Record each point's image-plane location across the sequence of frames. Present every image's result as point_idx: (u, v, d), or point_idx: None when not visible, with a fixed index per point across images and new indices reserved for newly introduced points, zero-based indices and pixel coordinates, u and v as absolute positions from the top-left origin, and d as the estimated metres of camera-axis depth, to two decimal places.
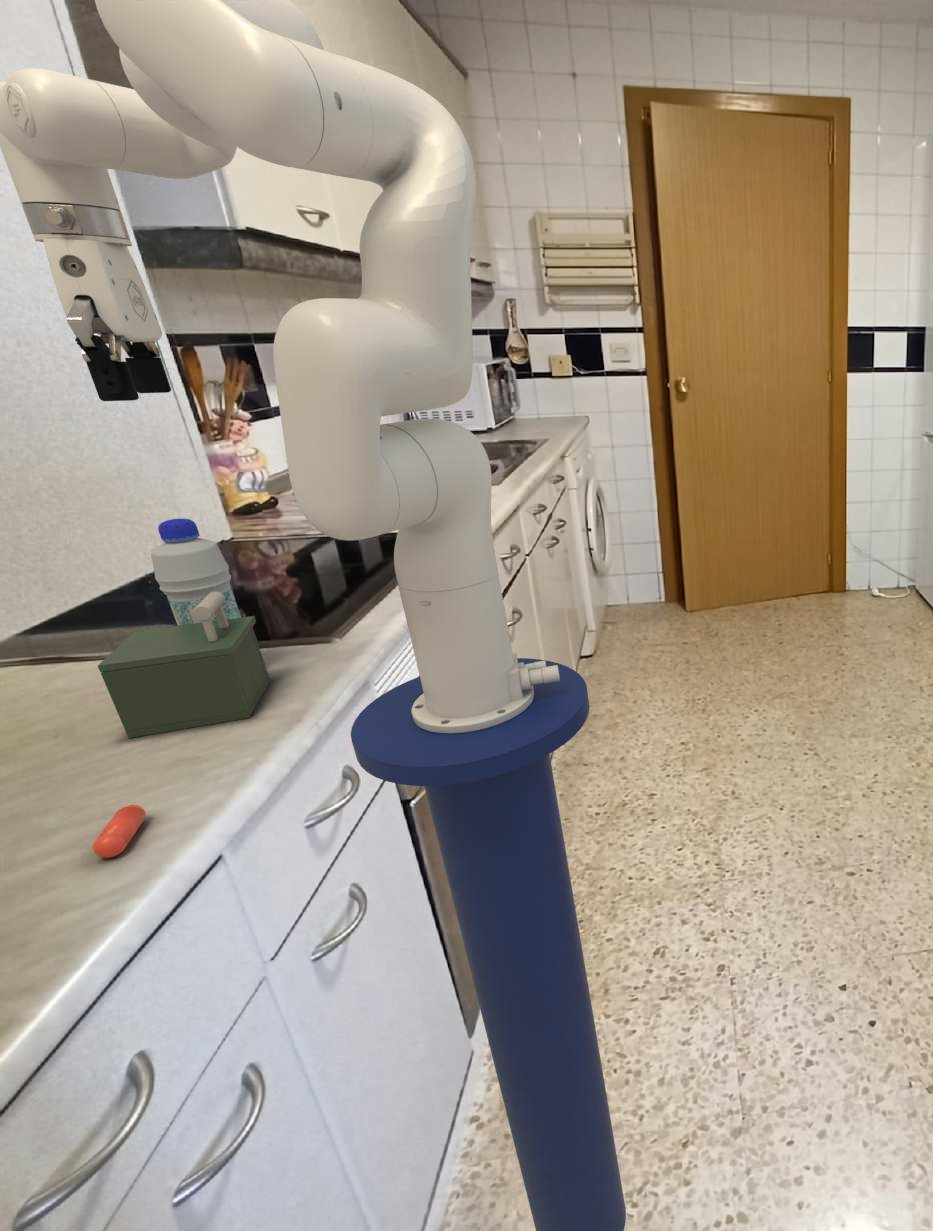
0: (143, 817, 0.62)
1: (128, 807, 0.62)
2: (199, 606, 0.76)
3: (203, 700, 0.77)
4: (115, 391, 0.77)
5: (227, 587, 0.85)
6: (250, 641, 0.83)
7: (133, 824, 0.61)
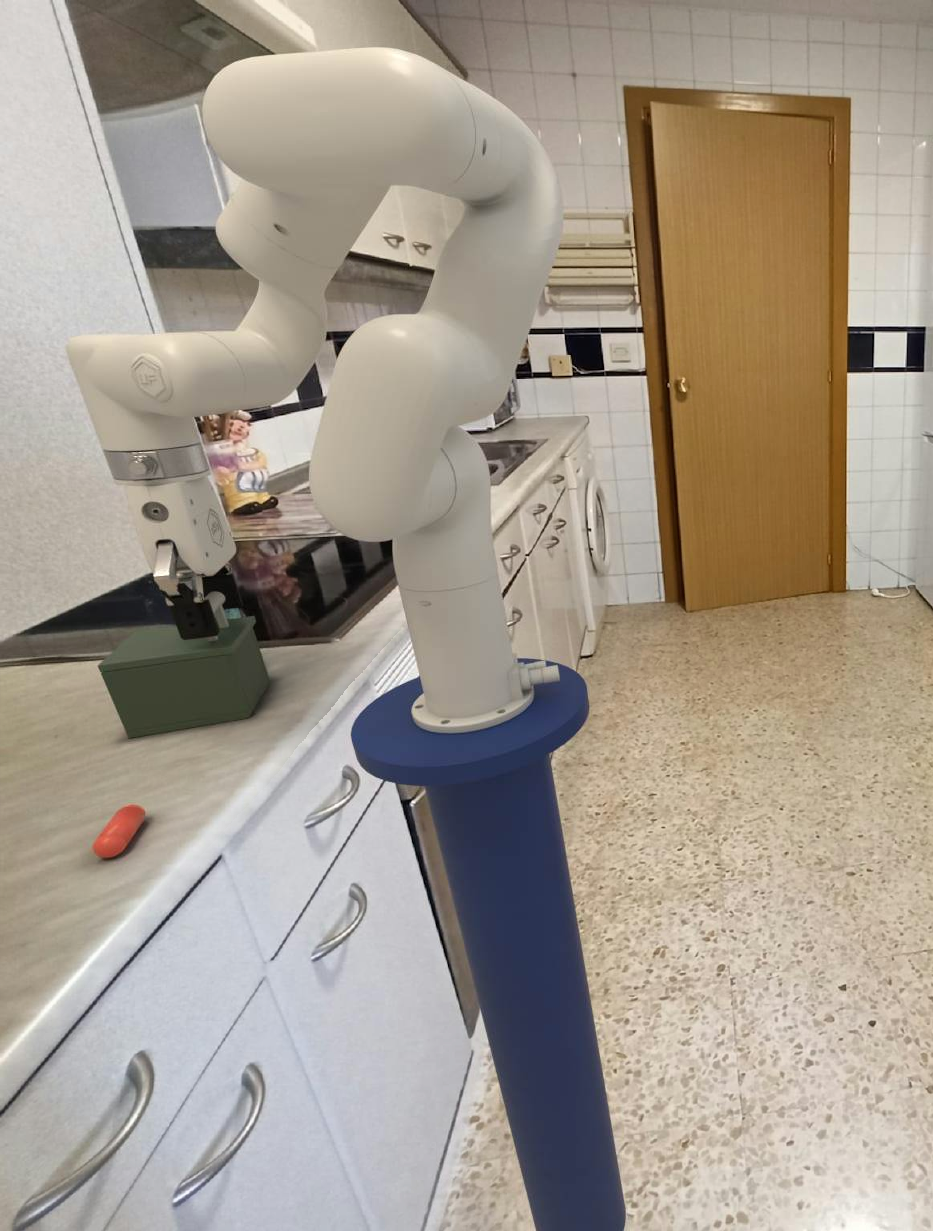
0: (143, 817, 0.62)
1: (128, 807, 0.62)
2: None
3: (203, 700, 0.77)
4: (197, 631, 0.74)
5: None
6: (250, 641, 0.83)
7: (133, 824, 0.61)
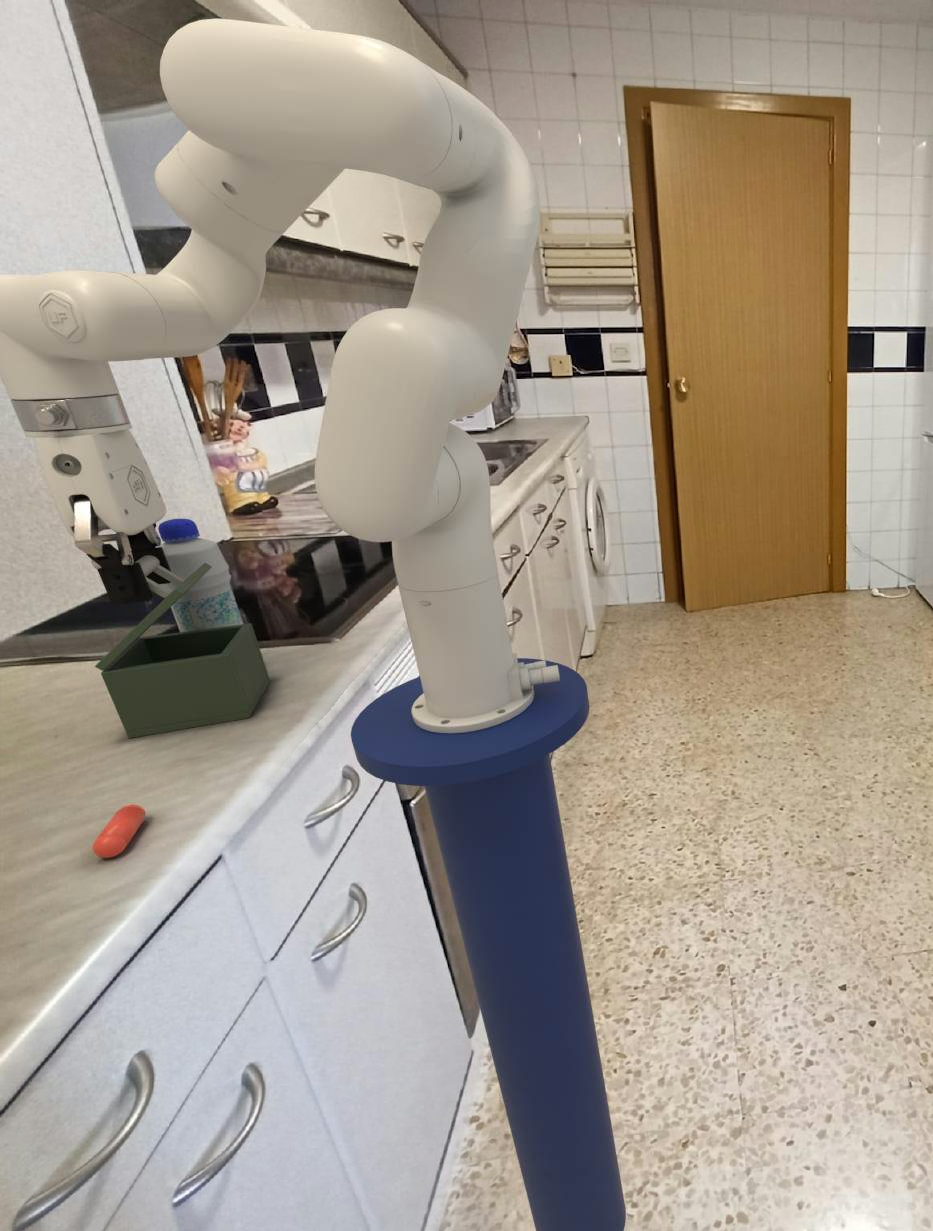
0: (143, 817, 0.62)
1: (128, 807, 0.62)
2: None
3: (203, 700, 0.77)
4: (127, 595, 0.72)
5: (227, 587, 0.85)
6: (250, 641, 0.83)
7: (133, 824, 0.61)
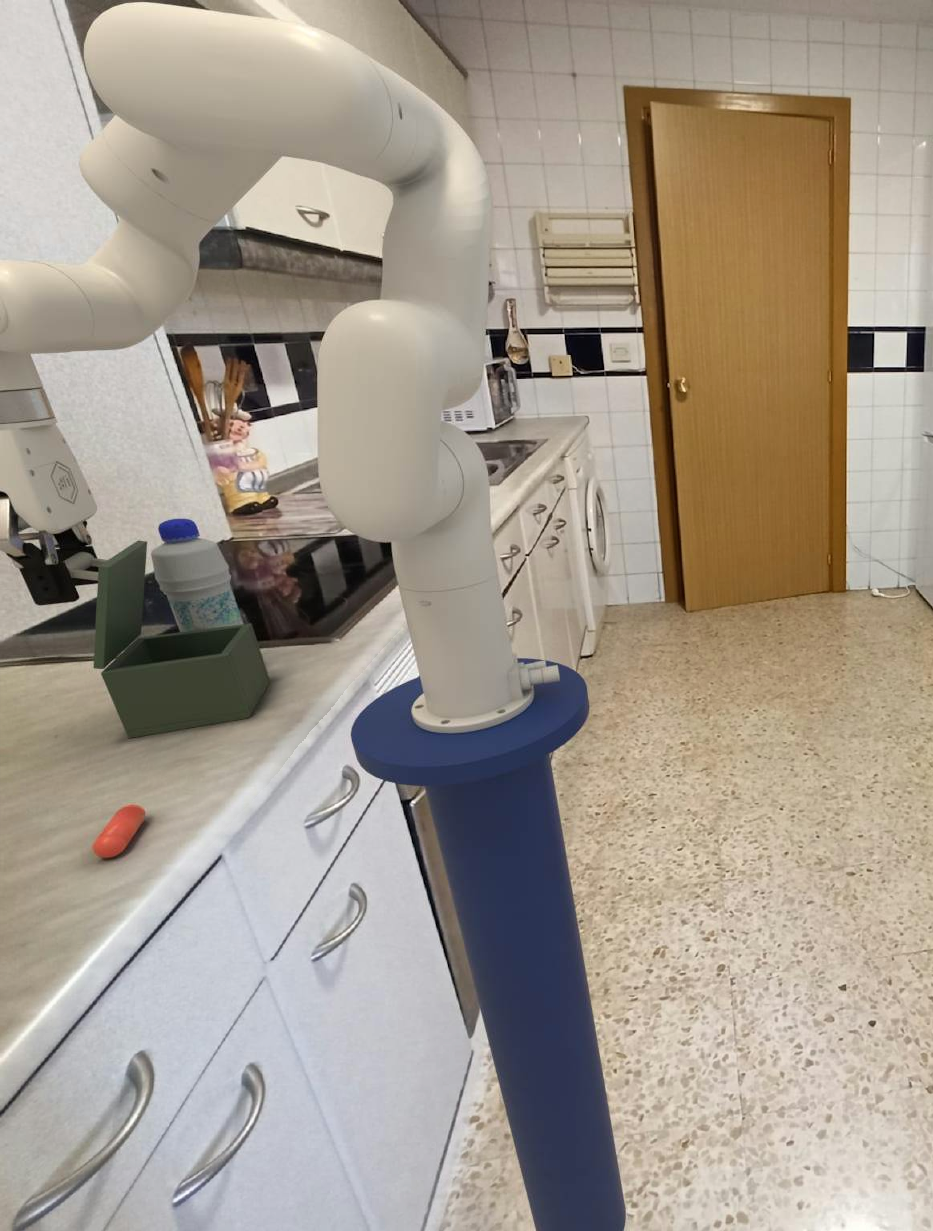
0: (143, 817, 0.62)
1: (128, 807, 0.62)
2: None
3: (203, 700, 0.77)
4: (52, 596, 0.70)
5: (227, 587, 0.85)
6: (250, 641, 0.83)
7: (133, 824, 0.61)
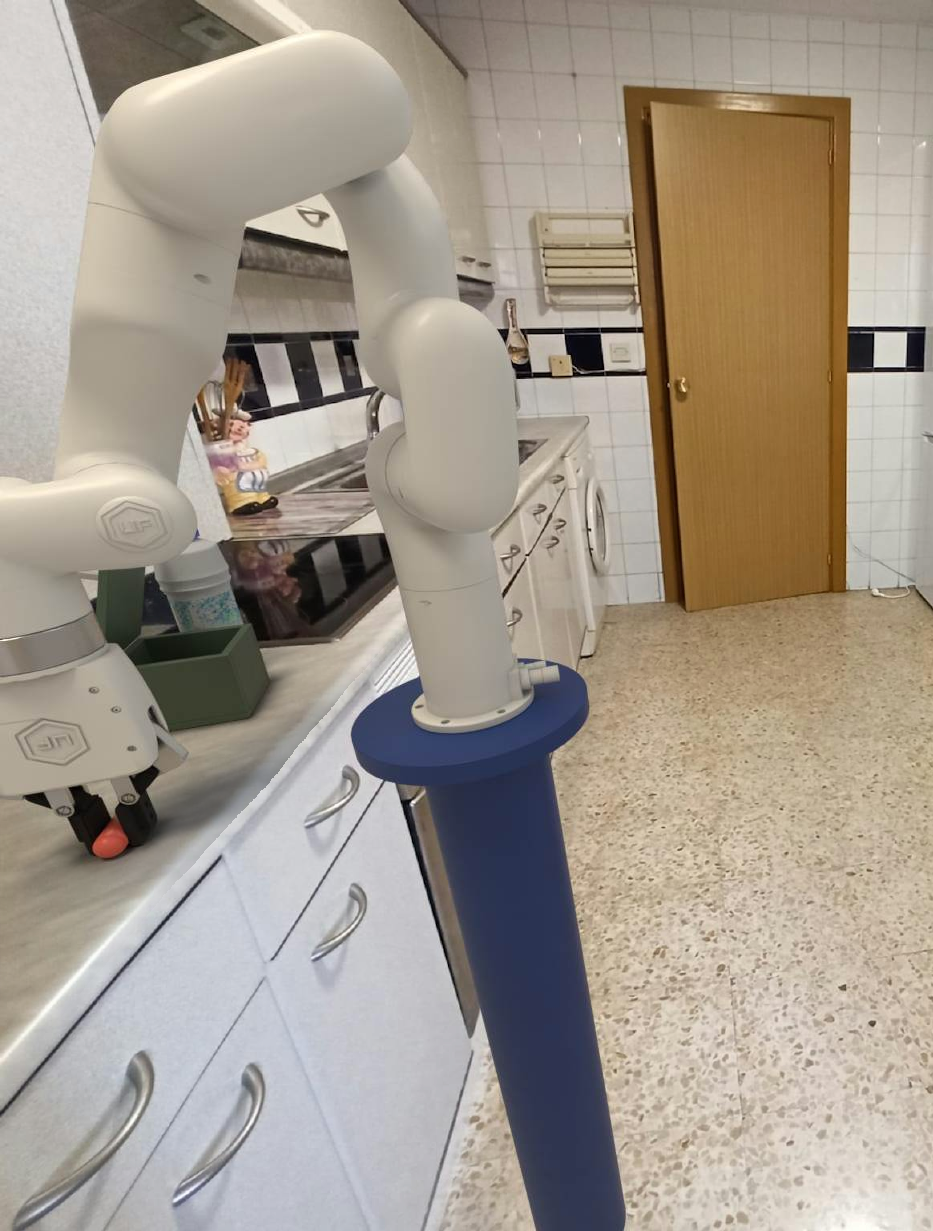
0: None
1: None
2: None
3: (203, 700, 0.77)
4: None
5: (227, 587, 0.85)
6: (250, 641, 0.83)
7: None
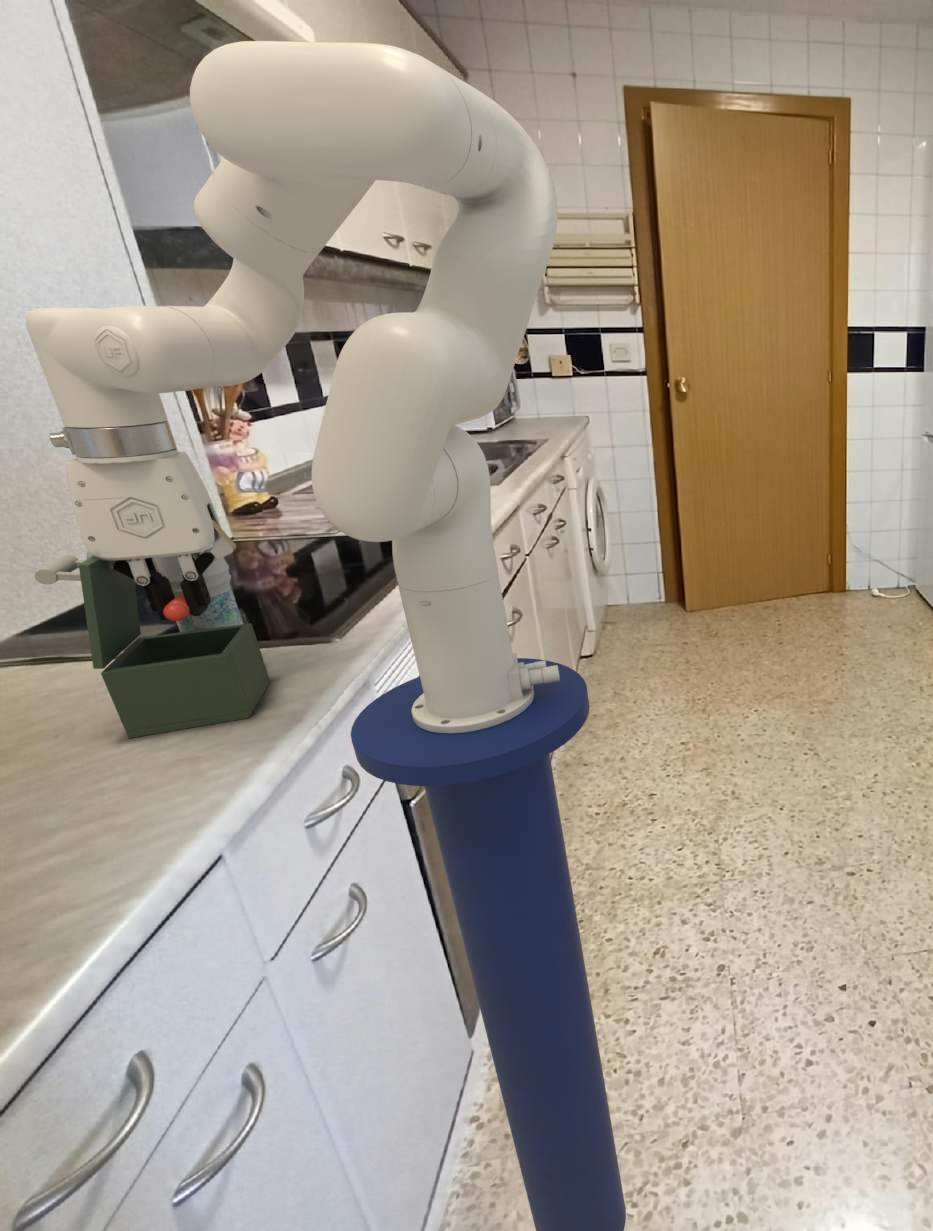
0: None
1: None
2: (35, 576, 0.70)
3: (203, 700, 0.77)
4: None
5: (227, 587, 0.85)
6: (250, 641, 0.83)
7: None
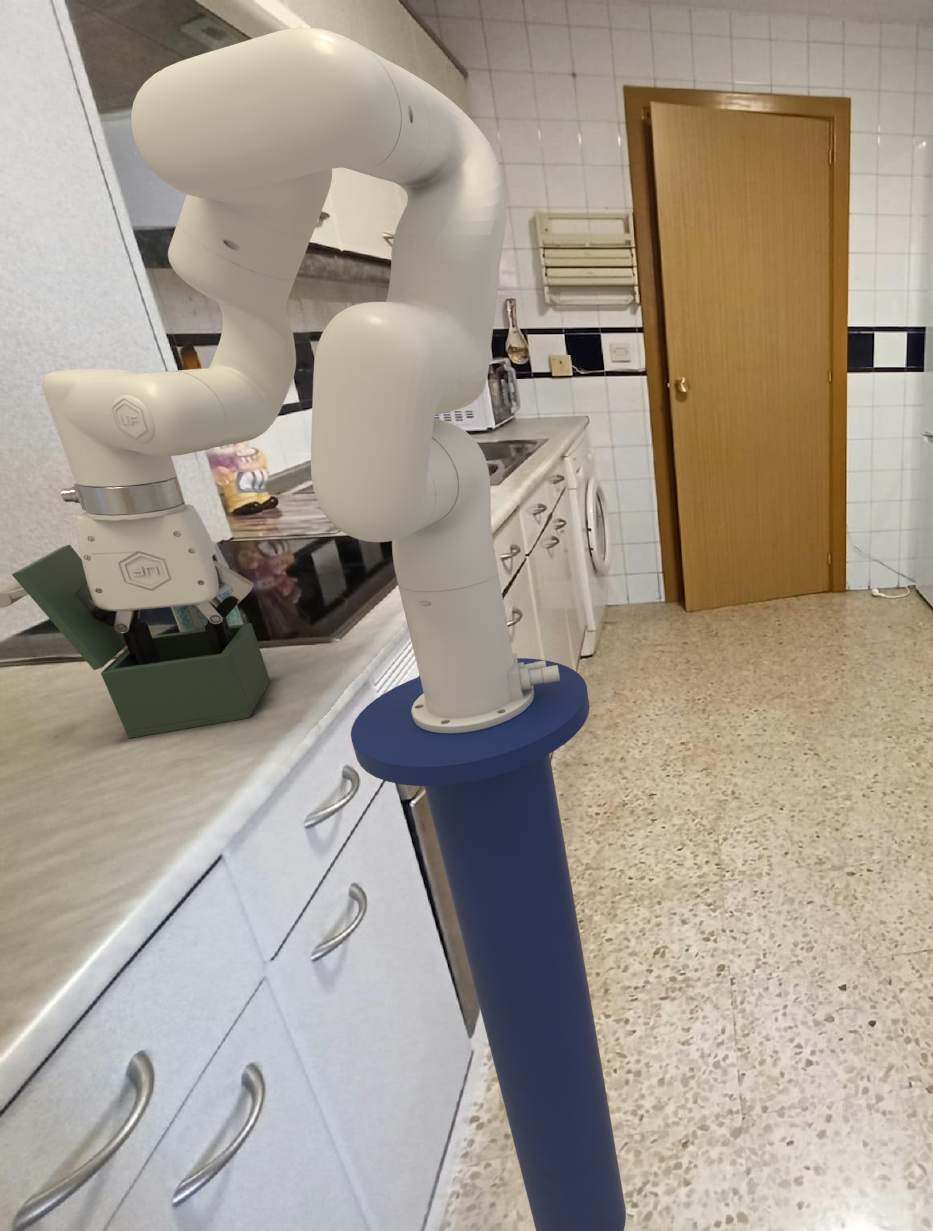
0: None
1: None
2: None
3: (203, 700, 0.77)
4: None
5: (227, 587, 0.85)
6: (250, 641, 0.83)
7: None
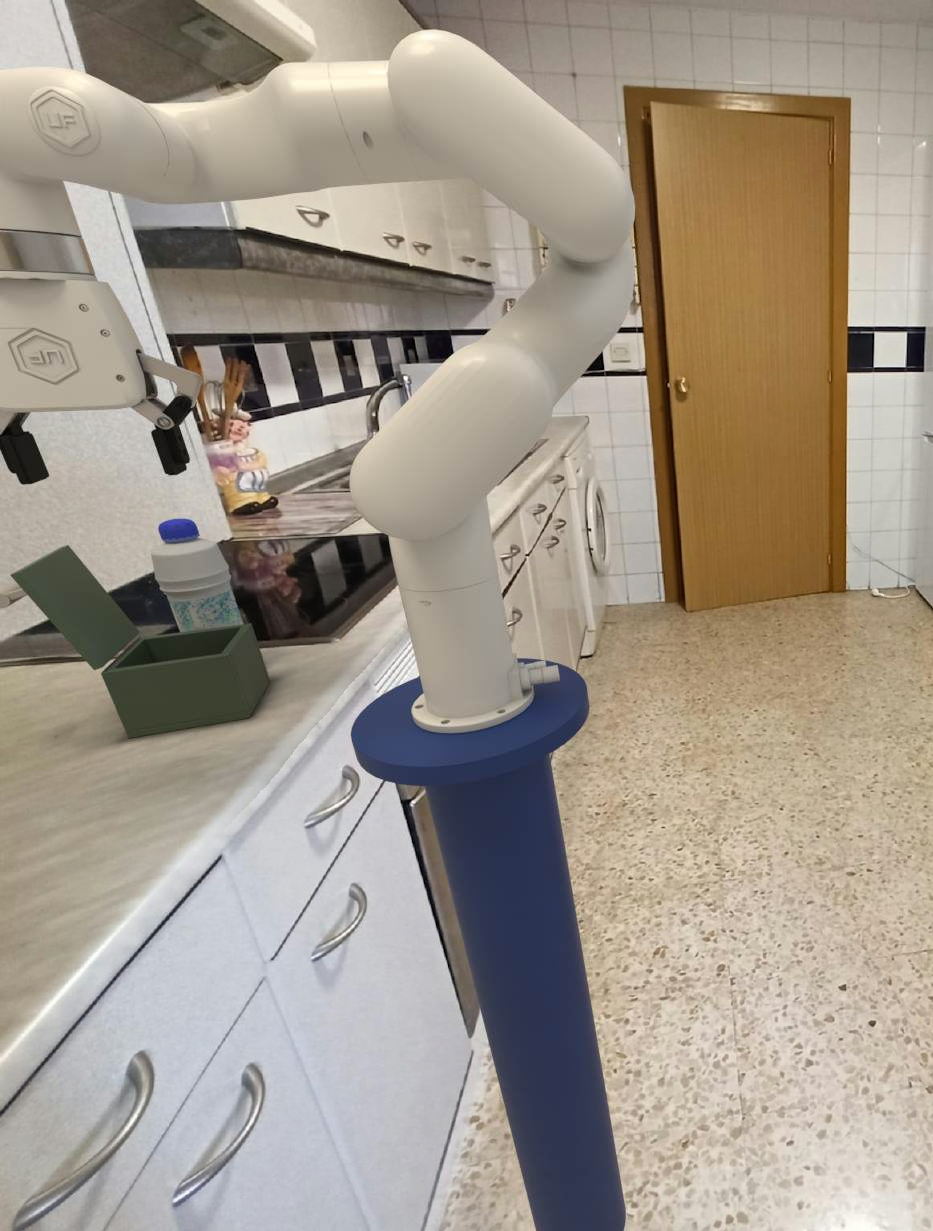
0: None
1: None
2: None
3: (203, 700, 0.77)
4: None
5: (227, 587, 0.85)
6: (250, 641, 0.83)
7: None
